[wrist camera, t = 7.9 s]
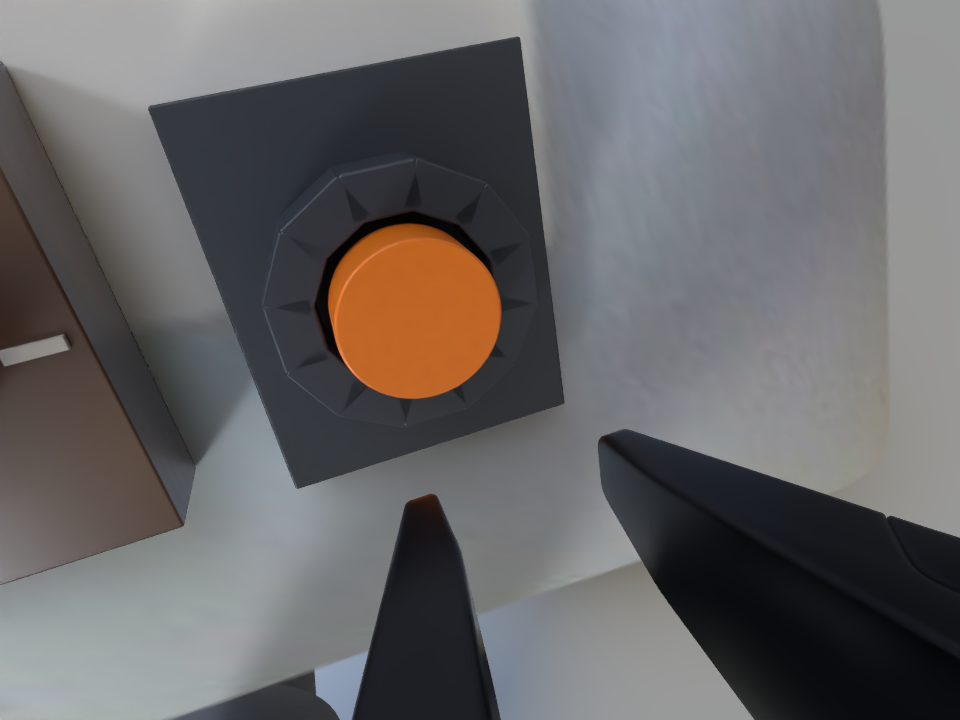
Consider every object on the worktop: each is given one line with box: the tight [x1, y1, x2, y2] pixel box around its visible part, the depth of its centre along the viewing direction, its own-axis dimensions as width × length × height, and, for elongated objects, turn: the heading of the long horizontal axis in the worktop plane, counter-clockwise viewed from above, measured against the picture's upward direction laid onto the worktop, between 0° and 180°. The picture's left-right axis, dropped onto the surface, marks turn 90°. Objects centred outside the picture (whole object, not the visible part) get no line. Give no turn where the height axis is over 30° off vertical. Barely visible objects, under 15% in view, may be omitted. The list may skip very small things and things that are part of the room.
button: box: [328, 223, 501, 399], centre depth 15 cm, size 4×4×2 cm
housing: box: [148, 37, 564, 489], centre depth 17 cm, size 11×9×4 cm
